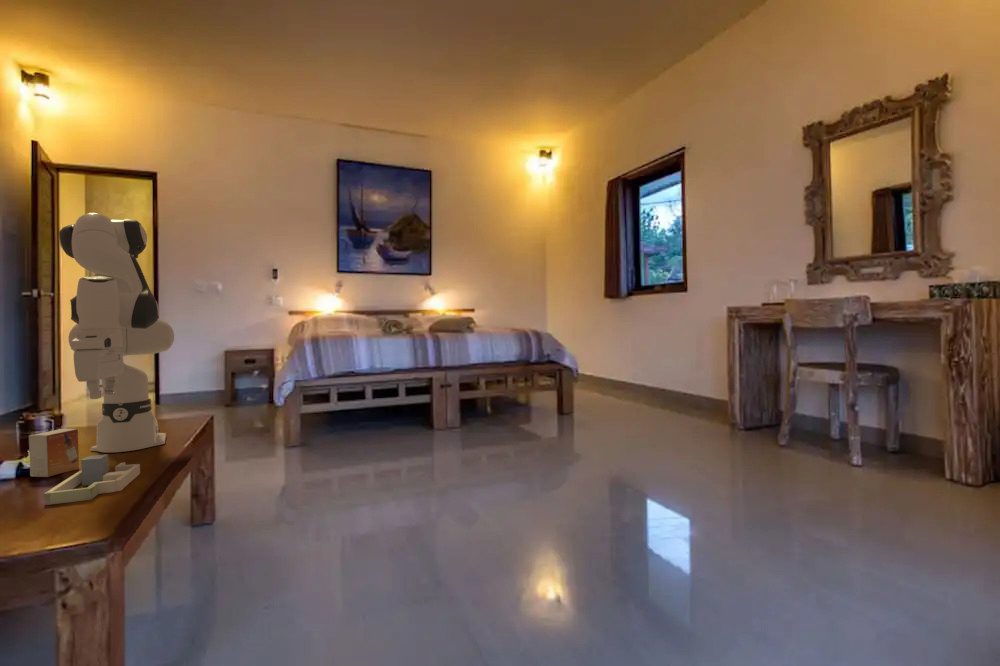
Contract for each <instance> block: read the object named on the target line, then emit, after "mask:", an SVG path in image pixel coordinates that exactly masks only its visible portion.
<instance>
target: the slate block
mask: <svg viewBox="0 0 1000 666" xmlns="http://www.w3.org/2000/svg"><path fill="white" fill-rule="evenodd" d="M80 465H81V468H80V470H82V483H81V486H82V487H83V486H90V485H91V484H93V483H94V482H102V481H103V475H105V474H106V473H108V472H109V471H110V468H109V467H110V466H109V454H108V453H107V454H95V455H87V456H85V457H84V458H81V459H80Z"/></svg>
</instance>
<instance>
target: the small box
mask: <svg viewBox="0 0 1000 666" xmlns="http://www.w3.org/2000/svg"><path fill="white" fill-rule="evenodd" d="M28 448H29V449H28V450H29V476H30V477H36V478H49V477H52V476H55V475H56V476H57V475H59V474H63V473H67V472H71V471H76V470H79V468H80V457H79V456H80V455H79V429H78V428H58V429H55V430H51V431H50V430H49V431H45V432H41V433H40V432H39V433H35V434H29V435H28Z"/></svg>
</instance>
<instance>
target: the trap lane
mask: <svg viewBox="0 0 1000 666" xmlns="http://www.w3.org/2000/svg"><path fill="white" fill-rule="evenodd" d="M114 470H115V471H110V472H108V473H106V474H105V475H103V481H102V482H94V483H93V484H91V485H88V487H81V488H76V487H77V486H79V485H80V484H82V470H81V469H80V470H78V471H77V472H76V473H73V475H71V476H69V477H68V478H66V479H65V480H63V481H61V482H60V483H58V484H56V485H55V486H54V487H52V488H50V489H49V490H48V491H46V492H44V494H43V501H44V503H43V504H44V506H49V505H56V504H66V503H75V502H82V501H91V500H93V499H94V498H95V497H96V496H98V495H99V494H100V495H101V494H108V493H109V494H111V493H115V492H120V491H122V490H124V489H125V488H126V487H127V486H128V485H129V484H130V483H131V482H132V481H134V479H136V478H137V477H138V476H139V475H140V474H141V465H140V463H136V464H135V463H132V464H126V462H124V461H123V462H120V463H119V464H117V465H115V467H114Z"/></svg>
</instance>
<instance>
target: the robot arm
mask: <svg viewBox="0 0 1000 666" xmlns="http://www.w3.org/2000/svg"><path fill="white" fill-rule="evenodd" d="M58 234H59V236H58V242H59V246H60V248H61V249H62V251H63V252H64V253H65V255H67V256H68V257H70V258H71V259H74V260H75V262H76V263H77V264H78V266H80V267H82V268H83V269H85V270H87V271H88V272H91V273H93V274H94V275H92V276H83V277H80V278H79V279H78V282H77V289H76V295H75V296H74V297H72V298H71V299H70V300H69V301H70V311H71V312H70V313H71V314H70V315H71V316H70V320H71V321H72V322H74V323H75V324H74V326H73V327H72V328H71V330H70V331H69V333H68V345H69V346H70V350H72V351H73V365H74V367H73V368H74V373H75V377H76V379H77V381H78V382H81V383H82V382H86V387H87V390H88V392H89V398H90V399H91V400H98V399H100V398H102V395H103V402H102V404H101V405H102V406H101V411H102V416H103V417H102V418H101V419H100V420H99V421H98V422H97V423H96V445H92V446H91V447H90V452H100V453H107V454H108V453H111V454H112V453H122V452H130V451H131V452H132V451H137V450H142V449H146V448H147V449H148V448H151V447H156V446H161V445H165V443H166V440H167V433H166V432H160V428H159V427H158V426H159V425H158V424H159V423H158V420H157V418H156V416H155V414H153V412H152V408H153V407H152V399H151V398H150V397H149V378H148V375H147V373H146V372H145V371H143V370H142V369H140V368H137V367H135V366H132V365H128V364H126V363H124V357H126V356H141V355H144V356H145V355H153V354H159V353H162V352H166V351H168V350H169V349H170V348H171V347H172V345H173V344H174V339H175V332H174V330H173V327H171V325H170V324H169V323H168V322H167V321H165V320H162V319H161V318H159V313H160V309H159V304H158V301H157V300H156V297H155V295H154V294H153V293H152V291H151V289H150V286H149V284H148V282H147V280H146V277H145V275H144V273H143V270H142V268H141V266H140V264H139V262H138V260H137V259H138V258H139V255H141V254H142V253H143V252H144V250H145V249H146V248H147V243H148V234H147V231H146V230H145V228H144V227H143V226H142V224H141V223H140V222H139V221H138V220H135V219H129V218H124V219H111V218H109V217H108V216H106V215H104V214H102V213H96V212H89V213H85V214H83V215H81V216H79V217H78V218H77V219H76V222H75V223H72V224H68V225H65V226H63V227H62V228H61V229H60V230H59V232H58ZM100 381H101V382H100ZM100 383H101V385H102V390H100Z"/></svg>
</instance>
